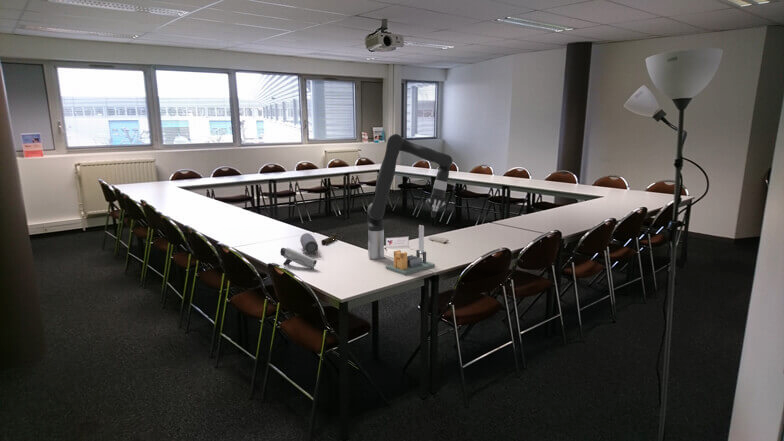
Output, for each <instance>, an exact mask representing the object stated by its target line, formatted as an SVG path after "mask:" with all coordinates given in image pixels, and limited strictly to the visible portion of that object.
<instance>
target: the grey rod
mask: <svg viewBox="0 0 784 441" xmlns="http://www.w3.org/2000/svg"><path fill="white" fill-rule="evenodd" d="M424 239H425V226H424V225H421V224H419V225H418V250H419V252H418V253H419V254H420V255H422V256H423V252H425V250H424V249H425V248H424V247H425V245H424V244H425V240H424Z"/></svg>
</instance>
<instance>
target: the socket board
mask: <svg viewBox="0 0 784 441" xmlns="http://www.w3.org/2000/svg"><path fill="white" fill-rule="evenodd" d="M418 252H419V249H416V255H415V256H416V257H419V258H421V256H420V255H421V254H419V253H418ZM434 266H435V267H436V263H433V262H430V261H427V251H424V252H423V255H422V265H420V266H417V267H413V268H409V267H407V269H403V270H401V269H399V268H397V267H396V268H395V267H394V263H391V264H388V265H385V269H386V270H390V271H392V272H394V273H397V274H401V275H403V276H407V274H408V275H410V274H415V273H417V272H420V271H421V272H422V271H425V270H428V269H431V268H435V267H434ZM427 268H428V269H427ZM424 269H425V270H424Z"/></svg>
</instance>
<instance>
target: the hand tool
mask: <svg viewBox="0 0 784 441" xmlns="http://www.w3.org/2000/svg"><path fill="white" fill-rule="evenodd" d="M333 239H334V240H333ZM337 239H338V233H336V232H334V233H333V234H331V236H328V237H326V238H325V239H322V240H321V241H320V242H321V245H322V246H326V245H328V244H329V243H331V242H333V241H337Z"/></svg>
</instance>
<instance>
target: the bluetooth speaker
mask: <svg viewBox="0 0 784 441" xmlns="http://www.w3.org/2000/svg"><path fill="white" fill-rule="evenodd" d="M299 239H300V240H299V242H300V244H301V246H302V249H303V250H304V251H305V253H307V254H309V255H313V254H316V253H317V251H318V250H319V244H318V242H317V240H316V238H315V237H314V236H313V235H312V234H310V233H309V232H306V233H303V234H302V235H300V238H299Z"/></svg>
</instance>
